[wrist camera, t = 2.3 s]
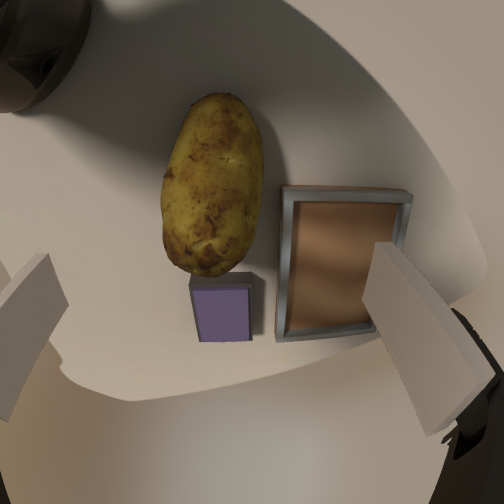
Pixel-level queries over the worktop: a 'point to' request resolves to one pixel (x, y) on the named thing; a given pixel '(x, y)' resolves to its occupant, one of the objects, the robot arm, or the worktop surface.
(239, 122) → the potato
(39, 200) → the worktop surface
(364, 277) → the metal baking tray
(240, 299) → the ink pad
